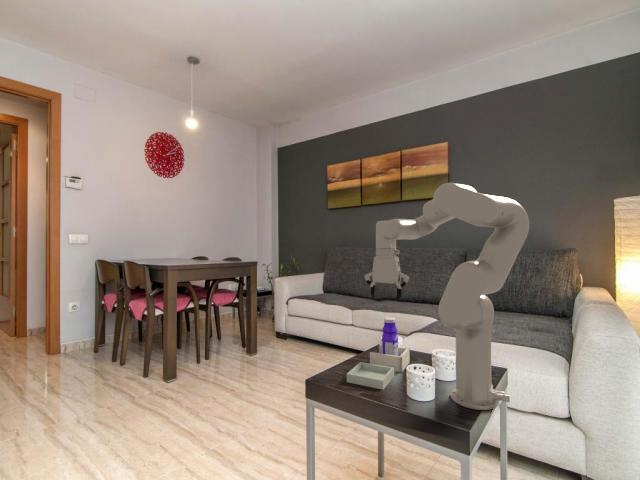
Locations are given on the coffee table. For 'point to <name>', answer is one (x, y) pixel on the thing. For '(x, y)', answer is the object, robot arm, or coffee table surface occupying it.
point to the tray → (370, 375)
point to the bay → (392, 359)
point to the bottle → (390, 337)
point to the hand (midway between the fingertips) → (386, 298)
